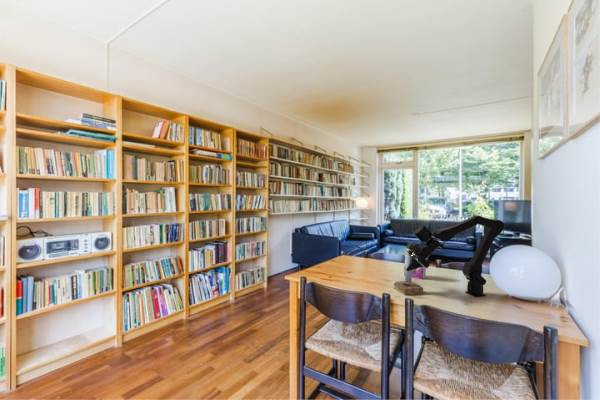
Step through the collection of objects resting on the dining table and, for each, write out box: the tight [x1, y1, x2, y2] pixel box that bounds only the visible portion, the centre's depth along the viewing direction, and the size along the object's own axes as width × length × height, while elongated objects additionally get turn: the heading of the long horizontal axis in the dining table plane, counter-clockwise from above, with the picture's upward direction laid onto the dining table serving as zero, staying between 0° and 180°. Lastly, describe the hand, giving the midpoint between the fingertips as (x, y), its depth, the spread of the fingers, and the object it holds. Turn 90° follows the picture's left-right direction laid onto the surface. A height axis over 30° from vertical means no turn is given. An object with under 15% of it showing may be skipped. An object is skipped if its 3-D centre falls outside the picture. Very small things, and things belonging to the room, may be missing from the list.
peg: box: [404, 255, 413, 283], centre depth 143 cm, size 3×3×13 cm
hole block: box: [393, 281, 424, 296], centre depth 143 cm, size 10×10×4 cm
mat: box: [395, 280, 422, 287], centre depth 155 cm, size 10×10×1 cm
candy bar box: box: [404, 248, 427, 280], centre depth 168 cm, size 11×5×16 cm, turn 47°
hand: (405, 269), depth 143 cm, fingers closed on peg, 3 cm apart
